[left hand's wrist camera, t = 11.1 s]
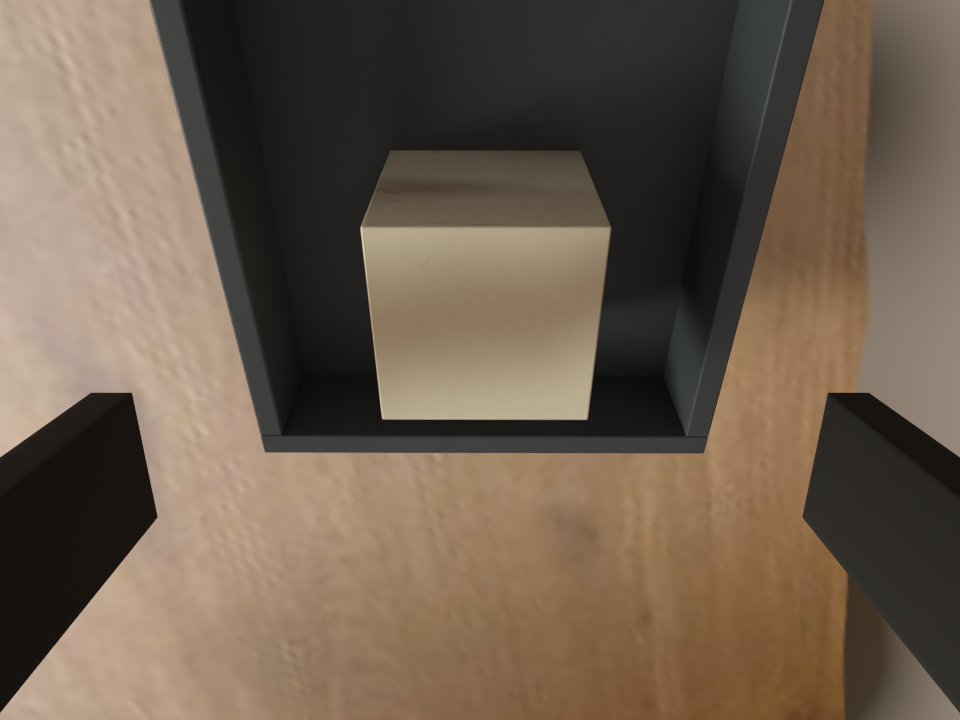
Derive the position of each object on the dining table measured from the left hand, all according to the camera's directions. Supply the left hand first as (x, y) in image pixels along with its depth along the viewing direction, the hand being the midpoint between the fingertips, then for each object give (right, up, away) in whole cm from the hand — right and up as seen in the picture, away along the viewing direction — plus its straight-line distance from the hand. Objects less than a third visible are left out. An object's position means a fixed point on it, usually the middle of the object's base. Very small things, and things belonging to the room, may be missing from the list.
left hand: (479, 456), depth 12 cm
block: (0, +6, +10) cm, 11 cm away
